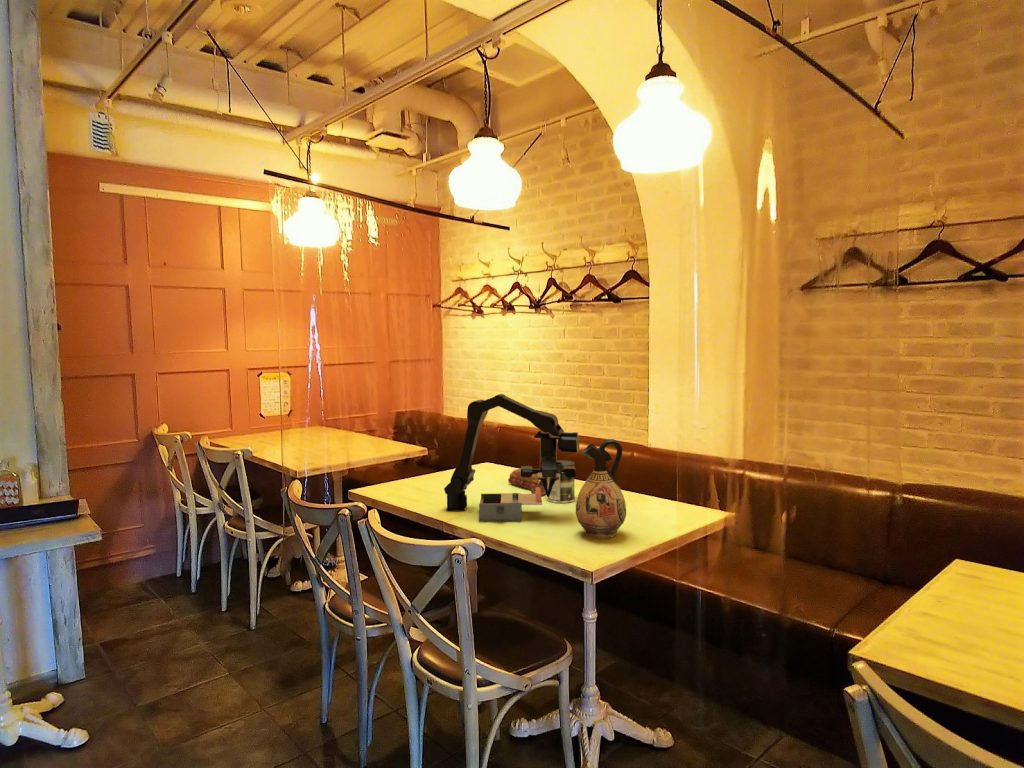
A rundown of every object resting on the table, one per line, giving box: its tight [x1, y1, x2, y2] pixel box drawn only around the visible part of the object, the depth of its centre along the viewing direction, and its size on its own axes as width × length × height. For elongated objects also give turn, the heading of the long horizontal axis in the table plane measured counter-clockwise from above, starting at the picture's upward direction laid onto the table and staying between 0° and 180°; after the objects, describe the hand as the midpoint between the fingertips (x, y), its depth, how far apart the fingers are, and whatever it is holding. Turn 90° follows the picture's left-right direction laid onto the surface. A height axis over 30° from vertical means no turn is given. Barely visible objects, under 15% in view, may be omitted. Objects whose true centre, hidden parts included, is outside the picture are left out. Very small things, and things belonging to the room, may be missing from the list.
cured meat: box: [507, 468, 548, 497], centre depth 256 cm, size 18×25×7 cm
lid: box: [500, 487, 543, 506], centre depth 218 cm, size 14×12×3 cm
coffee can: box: [547, 459, 576, 504], centre depth 239 cm, size 10×10×14 cm
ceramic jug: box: [575, 438, 627, 540], centre depth 196 cm, size 17×15×30 cm
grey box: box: [478, 492, 523, 523], centre depth 218 cm, size 14×19×6 cm
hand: (547, 496), depth 218 cm, fingers closed
